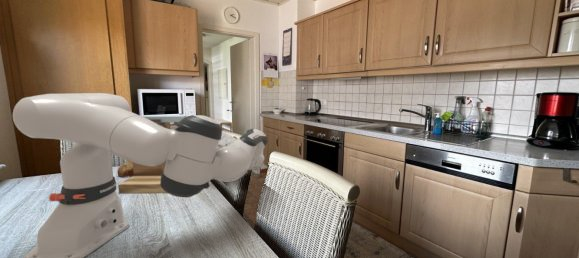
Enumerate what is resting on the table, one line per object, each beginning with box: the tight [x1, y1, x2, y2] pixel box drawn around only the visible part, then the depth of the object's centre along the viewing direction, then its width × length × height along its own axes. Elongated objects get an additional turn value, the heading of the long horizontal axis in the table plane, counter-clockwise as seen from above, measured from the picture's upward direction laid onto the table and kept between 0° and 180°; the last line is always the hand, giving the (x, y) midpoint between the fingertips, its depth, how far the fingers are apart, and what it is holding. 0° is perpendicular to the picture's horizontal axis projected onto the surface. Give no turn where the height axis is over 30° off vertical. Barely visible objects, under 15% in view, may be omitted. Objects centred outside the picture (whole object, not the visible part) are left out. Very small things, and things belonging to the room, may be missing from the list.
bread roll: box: [117, 160, 134, 178], centre depth 119 cm, size 10×10×8 cm
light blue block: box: [141, 115, 187, 123], centre depth 109 cm, size 4×22×2 cm, turn 92°
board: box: [117, 176, 168, 194], centre depth 102 cm, size 10×24×4 cm, turn 92°
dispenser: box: [133, 119, 171, 176], centre depth 111 cm, size 11×12×28 cm
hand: (202, 131), depth 111 cm, fingers open, 8 cm apart
